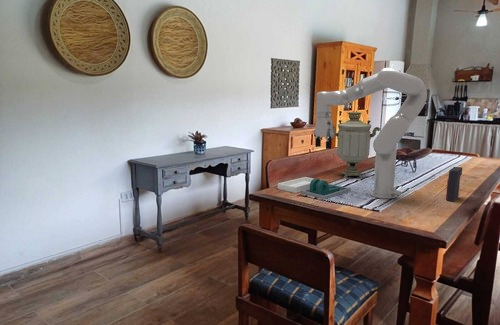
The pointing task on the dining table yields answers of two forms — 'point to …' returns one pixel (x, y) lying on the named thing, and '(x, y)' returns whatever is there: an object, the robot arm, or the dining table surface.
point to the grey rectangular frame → (343, 190)
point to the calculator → (453, 183)
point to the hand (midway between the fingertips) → (323, 147)
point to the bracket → (322, 187)
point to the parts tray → (296, 185)
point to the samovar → (353, 142)
